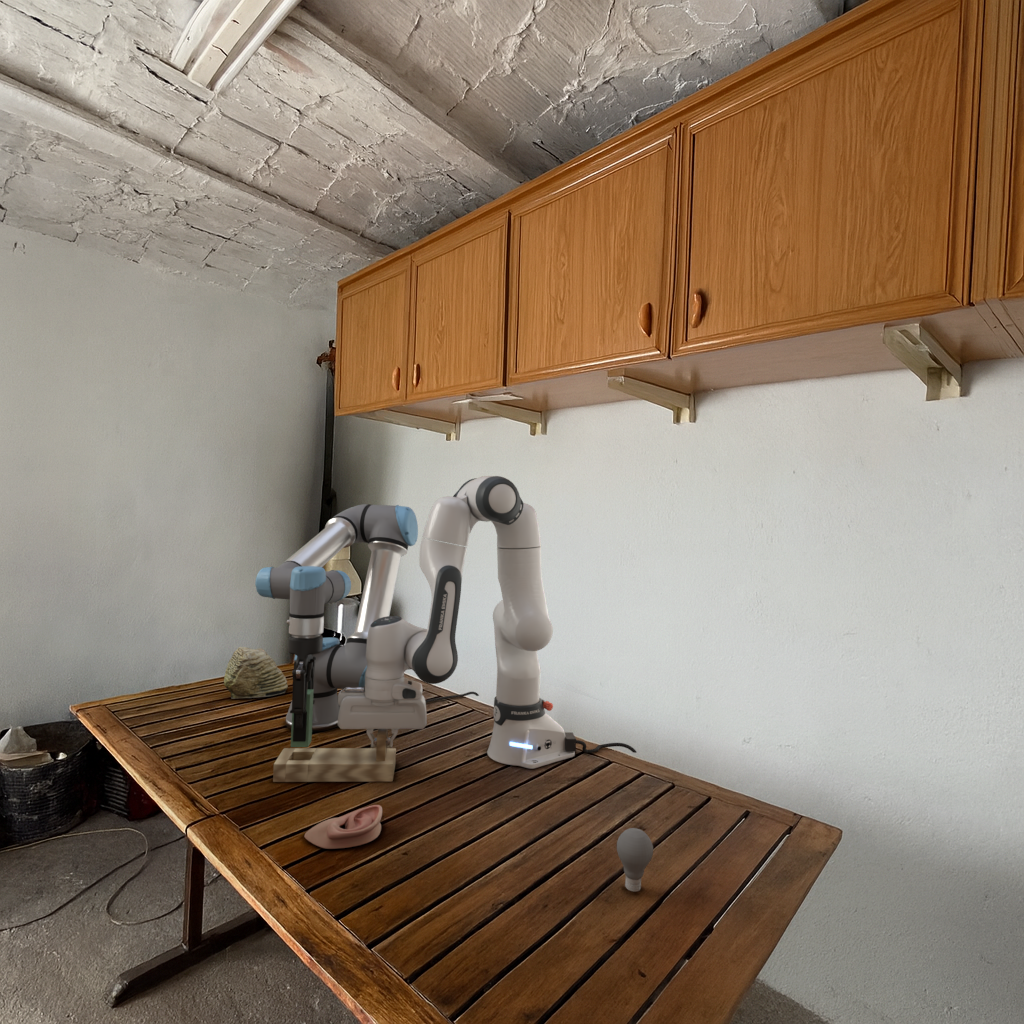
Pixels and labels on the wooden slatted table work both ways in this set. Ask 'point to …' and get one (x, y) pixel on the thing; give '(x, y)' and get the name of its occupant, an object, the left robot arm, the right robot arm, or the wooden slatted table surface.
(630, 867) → the light bulb
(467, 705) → the wooden slatted table surface
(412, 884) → the wooden slatted table surface
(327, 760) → the peg board
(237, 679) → the fossil
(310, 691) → the peg
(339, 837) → the anatomical model
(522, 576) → the right robot arm
